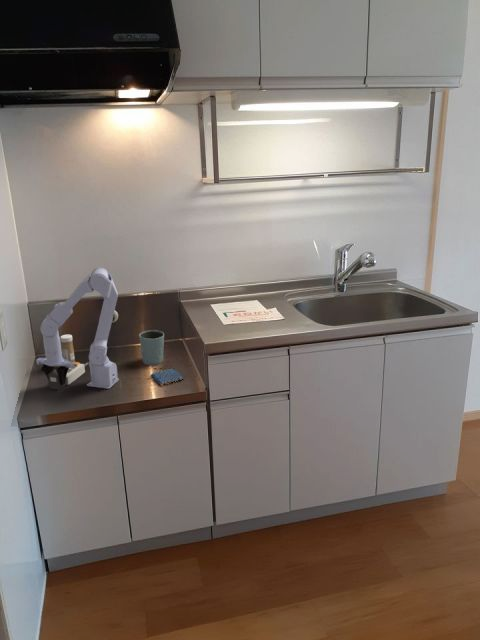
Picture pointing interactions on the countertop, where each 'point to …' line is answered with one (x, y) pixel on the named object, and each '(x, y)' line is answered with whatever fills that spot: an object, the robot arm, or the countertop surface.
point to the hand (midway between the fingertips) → (57, 383)
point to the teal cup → (152, 346)
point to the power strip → (75, 372)
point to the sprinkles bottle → (67, 348)
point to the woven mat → (166, 376)
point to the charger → (55, 380)
